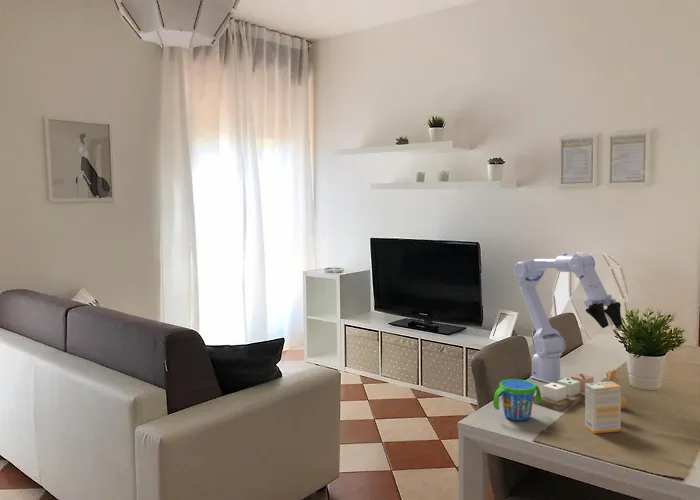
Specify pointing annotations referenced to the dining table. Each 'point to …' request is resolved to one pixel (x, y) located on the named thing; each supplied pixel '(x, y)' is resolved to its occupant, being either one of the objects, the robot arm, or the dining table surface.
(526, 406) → the snack cup
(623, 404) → the figurine
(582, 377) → the tile three
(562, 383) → the tile two
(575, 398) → the tile board
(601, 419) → the supplement box
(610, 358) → the dining table surface
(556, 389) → the tile one
